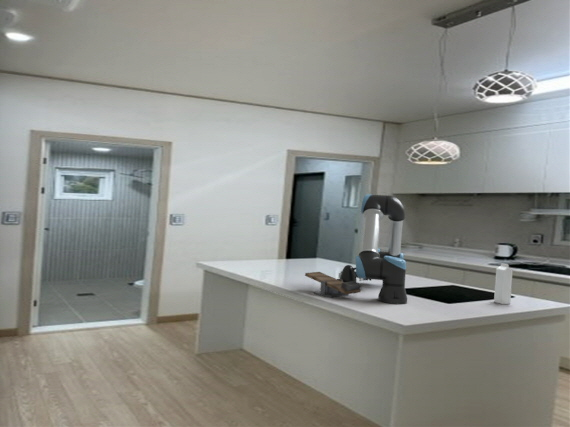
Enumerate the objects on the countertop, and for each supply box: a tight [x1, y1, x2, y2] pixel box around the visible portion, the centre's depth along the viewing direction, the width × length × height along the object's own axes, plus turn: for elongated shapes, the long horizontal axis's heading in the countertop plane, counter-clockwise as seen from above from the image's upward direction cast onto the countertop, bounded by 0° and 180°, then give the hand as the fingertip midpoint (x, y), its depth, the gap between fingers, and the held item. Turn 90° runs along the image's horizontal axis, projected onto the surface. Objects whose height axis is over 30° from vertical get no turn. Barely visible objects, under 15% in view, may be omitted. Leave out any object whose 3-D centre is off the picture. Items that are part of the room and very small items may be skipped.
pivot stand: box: [313, 278, 349, 299], centre depth 260 cm, size 12×15×8 cm
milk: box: [493, 262, 514, 305], centre depth 265 cm, size 6×6×22 cm
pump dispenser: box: [339, 264, 358, 283], centre depth 273 cm, size 10×10×15 cm
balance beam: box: [304, 271, 362, 295], centre depth 259 cm, size 30×12×4 cm, turn 45°
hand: (349, 277), depth 275 cm, fingers open, 13 cm apart
